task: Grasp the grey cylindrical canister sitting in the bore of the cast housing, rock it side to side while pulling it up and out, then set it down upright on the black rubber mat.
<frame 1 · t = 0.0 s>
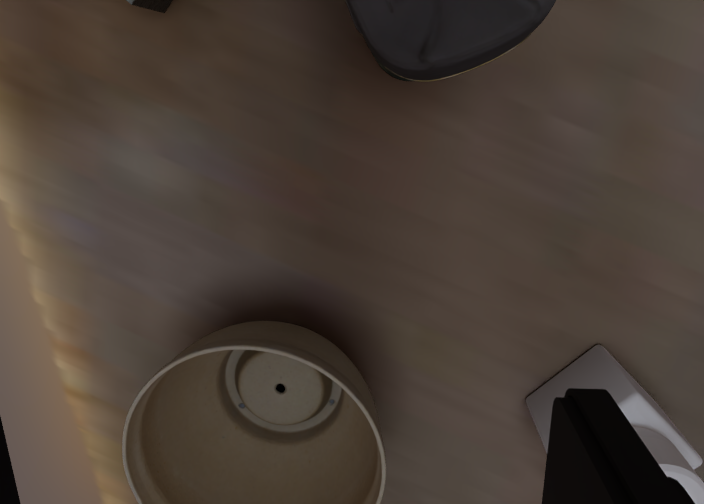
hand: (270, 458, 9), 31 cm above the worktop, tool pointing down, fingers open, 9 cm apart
medicine bottle: (588, 399, 44), on the worktop
planter bowl: (283, 375, 45), on the worktop
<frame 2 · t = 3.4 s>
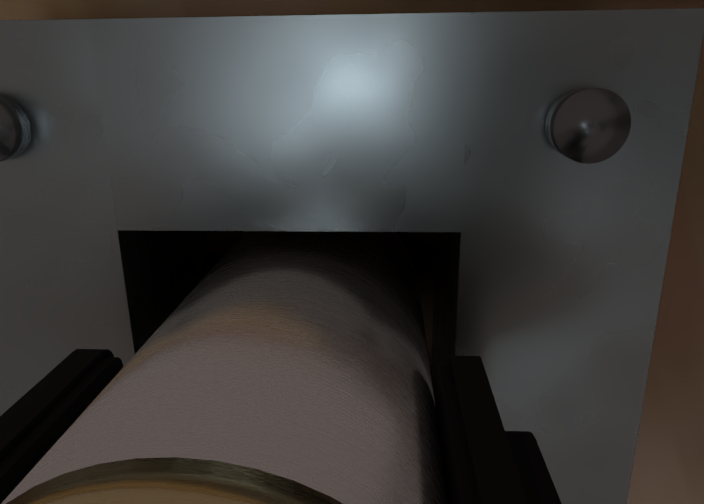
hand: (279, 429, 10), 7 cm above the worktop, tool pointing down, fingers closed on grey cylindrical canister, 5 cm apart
grey cylindrical canister: (321, 293, 16), resting in housing, touching gripper
housing: (320, 293, 16), on the worktop
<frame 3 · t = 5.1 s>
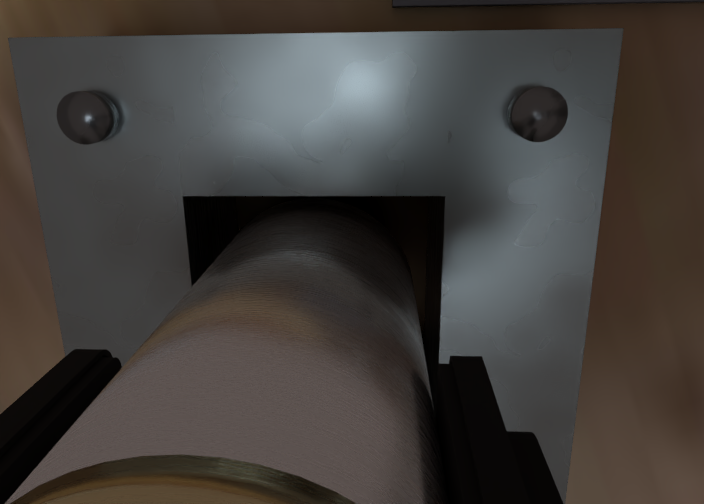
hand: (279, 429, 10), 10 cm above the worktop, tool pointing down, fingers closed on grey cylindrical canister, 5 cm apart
grey cylindrical canister: (316, 292, 17), point 3 cm above the worktop, touching gripper
housing: (332, 258, 20), on the worktop
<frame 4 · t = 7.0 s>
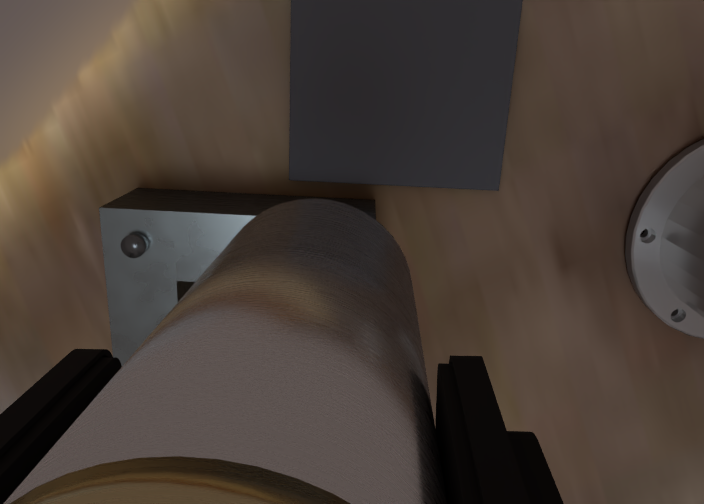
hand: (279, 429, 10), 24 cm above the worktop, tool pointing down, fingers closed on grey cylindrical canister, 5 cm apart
grey cylindrical canister: (315, 293, 17), point 17 cm above the worktop, touching gripper
housing: (256, 303, 36), on the worktop
rubber mat: (400, 75, 31), on the worktop
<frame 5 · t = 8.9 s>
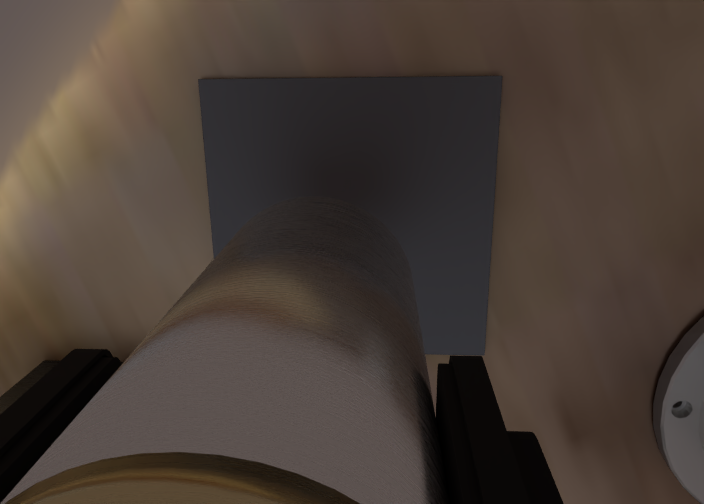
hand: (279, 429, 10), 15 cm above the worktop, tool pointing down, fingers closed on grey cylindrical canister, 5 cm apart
grey cylindrical canister: (316, 291, 16), point 9 cm above the worktop, touching gripper
housing: (198, 485, 29), on the worktop
rubber mat: (350, 222, 25), on the worktop
when the fingers open (8 cm above the worktop, at t = 10.5 s): grey cylindrical canister stays where it is, resting on rubber mat.
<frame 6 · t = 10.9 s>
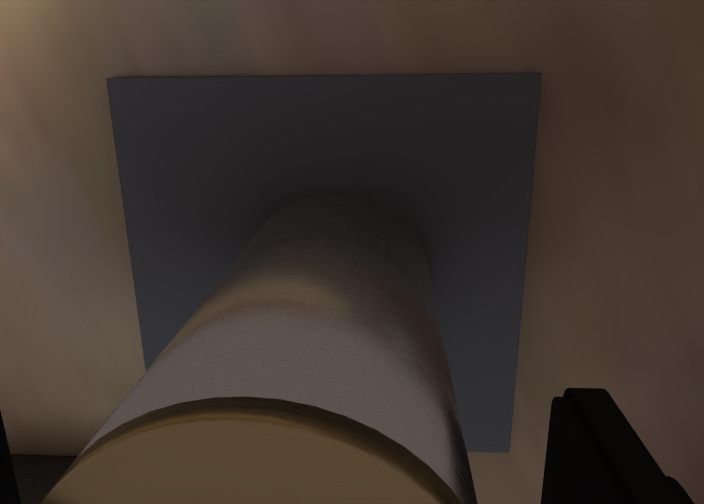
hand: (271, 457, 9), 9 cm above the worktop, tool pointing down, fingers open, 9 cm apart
grey cylindrical canister: (337, 281, 17), resting on rubber mat
rubber mat: (325, 276, 18), on the worktop
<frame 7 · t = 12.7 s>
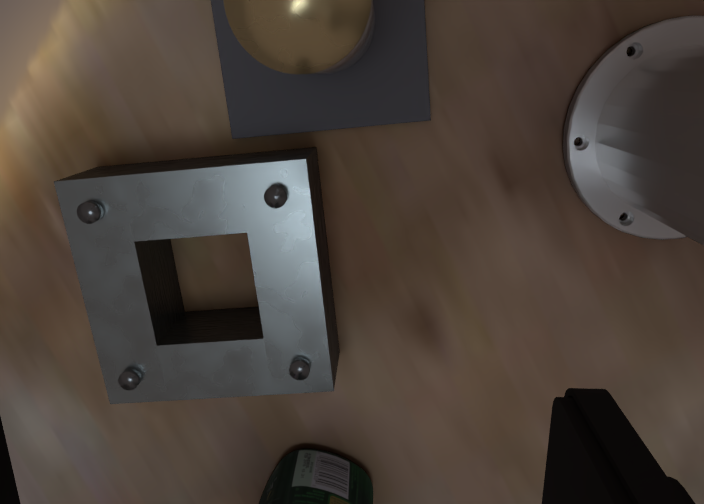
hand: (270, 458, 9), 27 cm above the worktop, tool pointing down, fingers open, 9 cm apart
grey cylindrical canister: (325, 22, 32), resting on rubber mat
coffee jar: (316, 495, 43), on the worktop
housing: (223, 263, 38), on the worktop
rubber mat: (319, 23, 33), on the worktop
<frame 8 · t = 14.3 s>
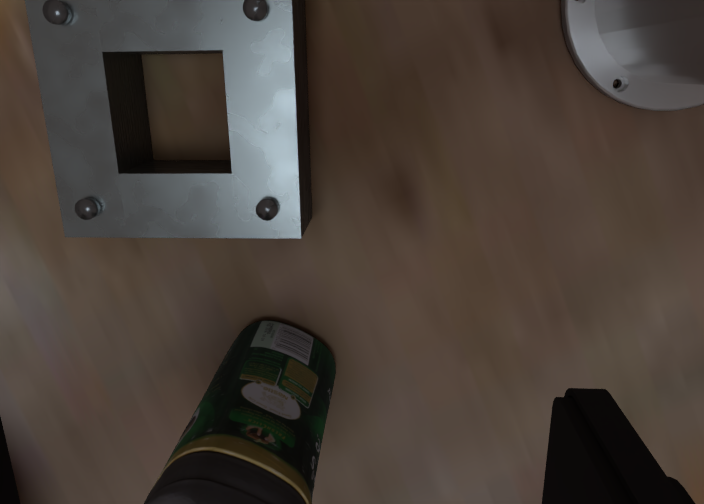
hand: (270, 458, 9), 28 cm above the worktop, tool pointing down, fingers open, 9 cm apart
coffee jar: (277, 376, 42), on the worktop
housing: (197, 108, 36), on the worktop
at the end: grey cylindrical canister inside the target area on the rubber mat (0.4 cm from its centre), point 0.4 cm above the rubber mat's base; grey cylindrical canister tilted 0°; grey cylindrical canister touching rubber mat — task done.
